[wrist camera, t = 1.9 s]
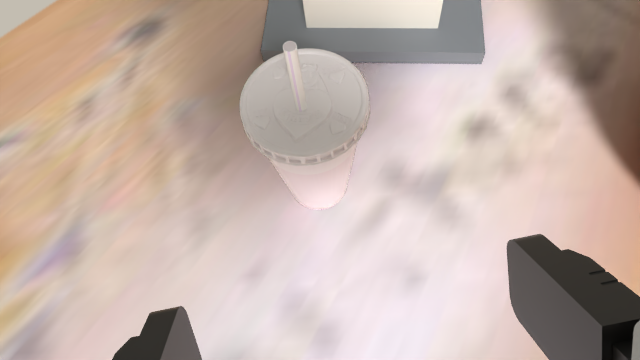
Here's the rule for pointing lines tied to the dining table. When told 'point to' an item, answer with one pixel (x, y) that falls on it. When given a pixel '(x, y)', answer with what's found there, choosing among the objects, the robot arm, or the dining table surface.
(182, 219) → the dining table surface
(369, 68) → the dining table surface
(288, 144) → the smoothie
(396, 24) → the socket board
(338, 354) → the dining table surface
